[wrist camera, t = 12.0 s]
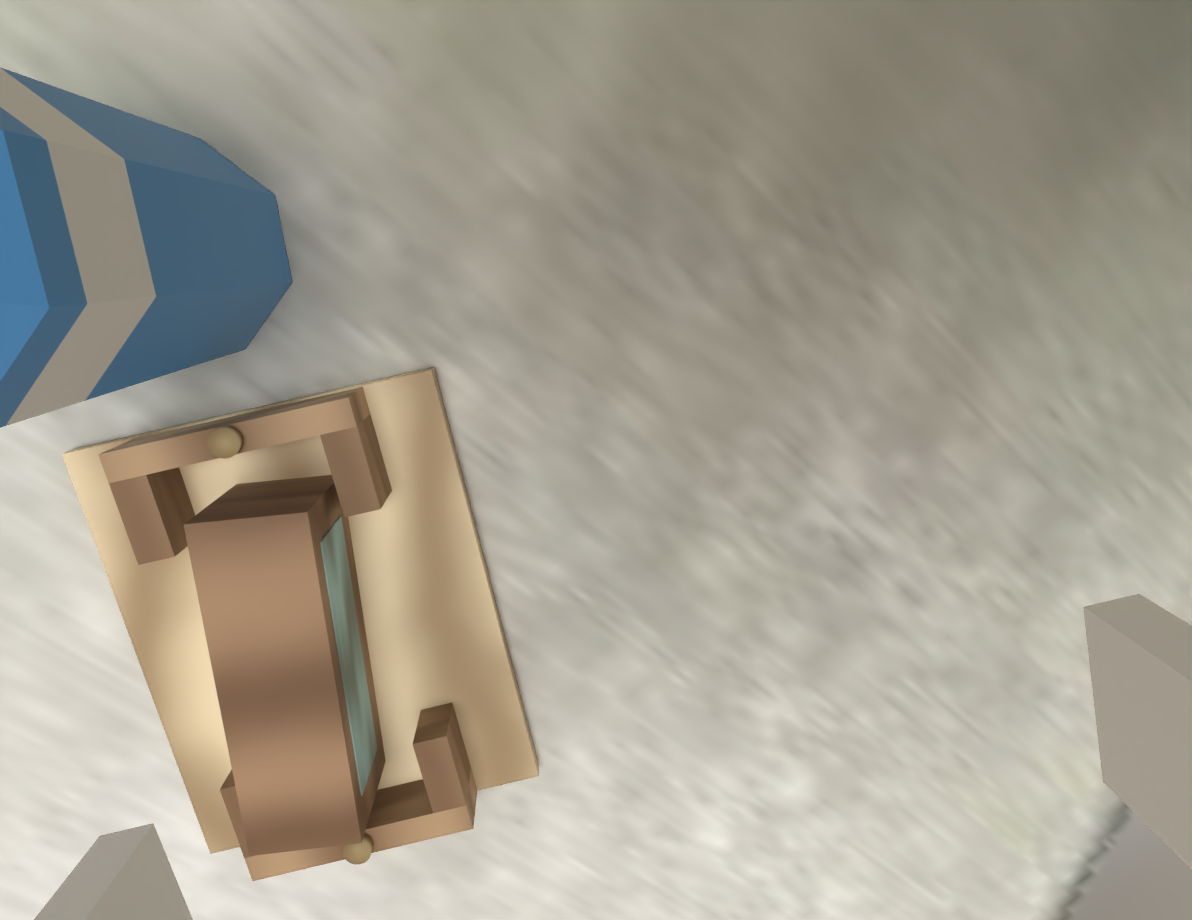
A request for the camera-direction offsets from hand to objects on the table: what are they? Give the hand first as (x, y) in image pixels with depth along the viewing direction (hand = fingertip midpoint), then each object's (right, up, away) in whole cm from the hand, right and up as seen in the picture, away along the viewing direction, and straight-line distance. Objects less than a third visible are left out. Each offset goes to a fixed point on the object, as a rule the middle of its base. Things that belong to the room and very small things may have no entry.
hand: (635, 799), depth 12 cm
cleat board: (-13, -2, +29) cm, 32 cm away
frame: (-13, -3, +28) cm, 31 cm away
